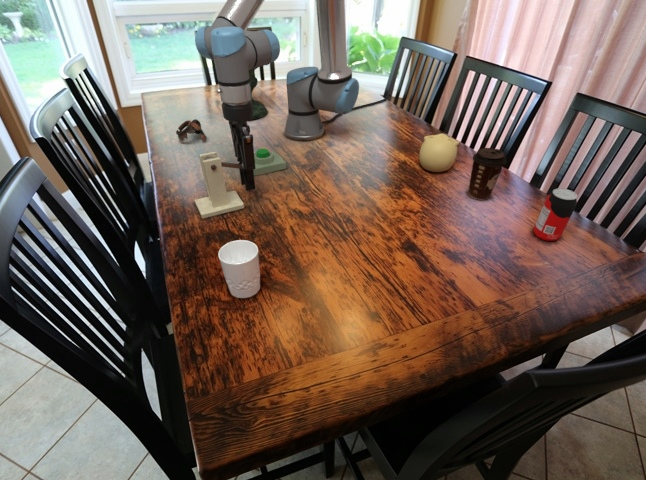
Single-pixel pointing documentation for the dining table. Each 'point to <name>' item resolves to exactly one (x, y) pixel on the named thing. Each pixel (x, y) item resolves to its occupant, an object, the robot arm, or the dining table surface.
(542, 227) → the beverage can
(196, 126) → the dark curved strip cluster
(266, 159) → the button block
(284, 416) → the dining table surface
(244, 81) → the robot arm
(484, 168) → the coffee cup
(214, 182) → the switch bracket
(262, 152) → the light button
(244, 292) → the white cup
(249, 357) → the dining table surface
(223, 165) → the switch lever
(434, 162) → the sculpture
